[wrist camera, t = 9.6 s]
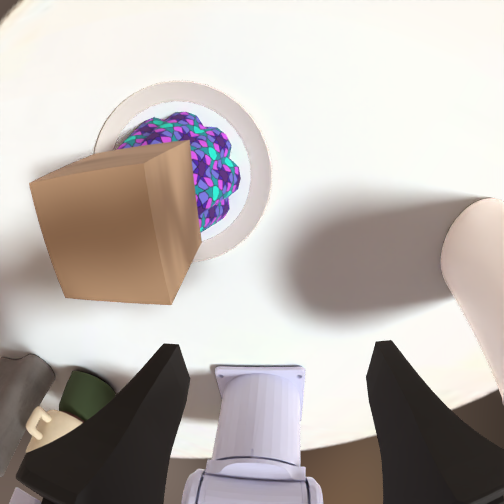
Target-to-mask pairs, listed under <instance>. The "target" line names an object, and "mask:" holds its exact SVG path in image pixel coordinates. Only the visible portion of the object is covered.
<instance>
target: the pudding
mask: <svg viewBox="0 0 504 504" xmlns="http://www.w3.org/2000/svg"><path fill="white" fill-rule="evenodd" d="M172 101H182V102H191V103H195V104H199V105H202V106H204V107H207V108H209V109H211V110H213V111H215V112H216V113H217V114H219V115H220V116H222V117H223V118H224V119H226V121H227V122H228V123H229V124H230V125H231V126H232V127H233V128H234V129H235V130H236V132H237V133H238V135H239V136H240V138H241V139H242V141H243V144H244V146H245V148H246V151H247V153H248V158H249V162H250V170H251V182H250V189H249V194H248V197H247V200H246V203H245V205H244V207H243V209H242V211H241V212H240V214H239V216H238V217H237V218H236V219H235V220H234V222H233V223H232V224H231V225H230V226H229V227H227V228H226V229H225V230H224V231H223V232H221V233H219V234H218V235H216V236H214V237H212V238H210V239H207V240H204V241H202V243H201V245H200V247H199V249H198V251H197V253H196V255H195V257H194V259H193V261H192V262H198V261H205V260H209V259H212V258H215V257H218V256H221V255H223V254H225V253H227V252H228V251H230V250H232V249H234V248H235V247H237V246H238V245H239V244H240V243H242V242H243V241H244V240H245V239H246V238H247V237H248V236H249V235H250V234H251V233H252V231H253V230H254V229H255V228H256V226H257V225H258V223H259V221H260V220H261V218H262V216H263V215H264V212H265V210H266V207H267V204H268V201H269V199H270V193H271V187H272V163H271V158H270V154H269V149H268V146H267V143H266V141H265V138H264V136H263V134H262V131H261V130H260V128H259V127H258V125H257V123H256V122H255V120H254V119H253V117H252V116H251V115H250V114H249V113H248V112H247V111H246V110H245V109H244V108H243V107H242V105H241V104H240V103H238V102H237V101H236V100H234V99H233V98H231V97H230V96H229V95H227V94H226V93H224V92H222V91H220V90H218V89H215V88H213V87H211V86H209V85H205V84H201V83H197V82H192V81H168V82H162V83H157V84H154V85H151V86H149V87H146V88H143V89H141V90H139V91H138V92H136V93H134V94H133V95H131V96H129V97H128V98H127V99H126V100H124V101H123V102H122V103H121V104H120V105H119V106H118V107H117V108H116V109H115V110H114V111H113V113H112V114H111V115H110V117H109V118H108V119H107V121H106V123H105V124H104V126H103V128H102V130H101V132H100V134H99V137H98V141H97V144H96V147H95V152H94V154H96V153H101V152H107V151H112V150H113V149H114V147H115V144H116V141H117V139H118V137H119V135H120V134H121V132H122V130H123V129H124V128H125V126H126V125H127V124H128V123H129V122H130V121H131V120H132V119H133V118H134V117H135V116H137V115H138V114H139V113H140V112H142V111H144V110H146V109H148V108H149V107H152V106H155V105H157V104H160V103H165V102H172ZM183 140H190V148H191V158H192V167H193V176H194V185H195V194H196V202H197V210H198V218H199V226H200V233H201V232H202V231H204V230H206V229H207V228H209V227H210V226H212V225H214V224H215V223H217V222H218V221H220V220H221V219H223V218H224V217H225V215H226V214H227V212H228V210H229V209H230V208H229V199H228V197H229V196H230V195H231V194H232V193H234V192H235V191H236V190H237V189H238V186H239V183H240V179H241V178H240V172H239V167H238V166H237V165H236V164H235V163H234V162H233V161H232V160H231V159H230V158H229V157H230V150H231V144H230V142H229V140H228V138H227V136H226V135H225V134H224V133H223V132H222V131H220V130H219V129H218V128H216V127H204V126H203V125H202V123H201V122H200V120H199V118H198V117H197V116H196V115H193V114H190V113H188V112H176V113H174V114H173V115H171V116H170V117H169V118H168V119H166V120H162V119H158V118H155V117H154V118H151V119H149V120H146V121H144V122H143V123H142V124H141V125H140V126H139V127H138V128H137V129H136V130H135V131H134V132H133V133H132V134H131V135H130V136H129V137H128V138H127V139H126V140H125V141H124V142H123V143H122V144H121V145H120V146H119V147H118V149H124V148H130V147H137V146H143V145H151V144H158V143H166V142H174V141H183ZM118 149H117V150H118Z"/></svg>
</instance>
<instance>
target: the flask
mask: <svg viewBox="0 0 504 504" xmlns="http://www.w3.org/2000/svg"><path fill="white" fill-rule="evenodd" d="M54 380H55V375H54V373H53V370H52V369H51V368H50V366H49V365H48V364H47V363H46V362H45V361H44V360H42V359H41V358H40V357H38V356H36V355H32V354H28V355H27V356H25V357H24V358H22V359H9V358H5V357H1V358H0V477H3V475H4V473H5V471H6V468H7V466H8V464H9V462H10V460H11V458H12V456H13V454H14V452H15V450H16V448H17V446H18V444H19V442H20V440H21V438H22V436H23V434H24V432H25V430H26V423H27V421H28V419H29V418H30V416H31V414H32V412H33V410H34V409H35V408H36V407H37V406H39V405H40V403H41V402H42V400H43V398H44V396H45V395H46V393H47V391H48V390H49V388H50V386H51V385H52V383H53V381H54Z"/></svg>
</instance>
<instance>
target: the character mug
mask: <svg viewBox="0 0 504 504" xmlns="http://www.w3.org/2000/svg"><path fill="white" fill-rule="evenodd" d="M115 396H116V395H115V392H114V391H113V389H112V388H111V387H110V386H109V385H108V384H107V383H105V382H104V381H102V380H101V379H99V378H97V377H95V376H92V375H90V374H88V373H84V372H80V371H72V374H71V376H70V378H69V380H68V382H67V385H66V387H65V390H64V393H63V395H62V398H61V401H60V404H59V411H57V410H49V411H47V412H46V411H45V410H44V409H43V408H41V407H40V406H37V407H36V408H35V409H34V410H33V412H32V414H31V416H30V418H29V419H28V421H27V423H26V429H27V430H28V432H29V433H30V434H32V438H31V441H30V443H29V445H28V447H27V449H26V453H27V452H30V451H32V450H35V449H37V448H39V447H42V446H44V445H46V444H48V443H50V442H52V441H54V440H56V439H58V438H60V437H62V436H64V435H65V434H67V433H69V432H70V431H72V430H73V429H75V428H76V427H78V426H79V425H81V424H82V423H84V422H85V421H87V420H88V419H89V418H91V417H92V416H93V415H95V414H96V413H97V412H98V411H99V410H101V409H102V408H103V407H104V406H105V405H106V404H108V403H109V402H110V401H111V400H112V399H113V398H114V397H115ZM39 419H40V420H39ZM38 421H39V422H38ZM37 423H38V424H37ZM36 425H37V426H36Z"/></svg>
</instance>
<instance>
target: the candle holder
mask: <svg viewBox="0 0 504 504" xmlns="http://www.w3.org/2000/svg"><path fill="white" fill-rule="evenodd" d="M441 271H442V275H443V278H444V280H445V282H446V284H447V286H448V288H449V290H450V291H451V293H452V295H453V297H454V298H455V300H456V302H457V304H458V306H459V307H460V309H461V311H462V313H463V315H464V316H465V318H466V320H467V322H468V324H469V326H470V328H471V330H472V332H473V334H474V335H475V337H476V339H477V341H478V343H479V346H480V348H481V350H482V352H483V354H484V356H485V358H486V360H487V362H488V365H489V367H490V369H491V371H492V374H493V376H494V378H495V381H496V383H497V386H498V388H499V391H500V393H501V396H502V400H503V404H504V201H502V200H499V199H495V198H487V199H482V200H479V201H477V202H475V203H473V204H471V205H470V206H469V207H467V208H466V209H465V210H464V211H463V212H462V213H461V214H460V215H459V216H458V217H457V218H456V220H455V221H454V223H453V224H452V226H451V227H450V229H449V231H448V233H447V235H446V238H445V240H444V244H443V247H442V252H441Z"/></svg>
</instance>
